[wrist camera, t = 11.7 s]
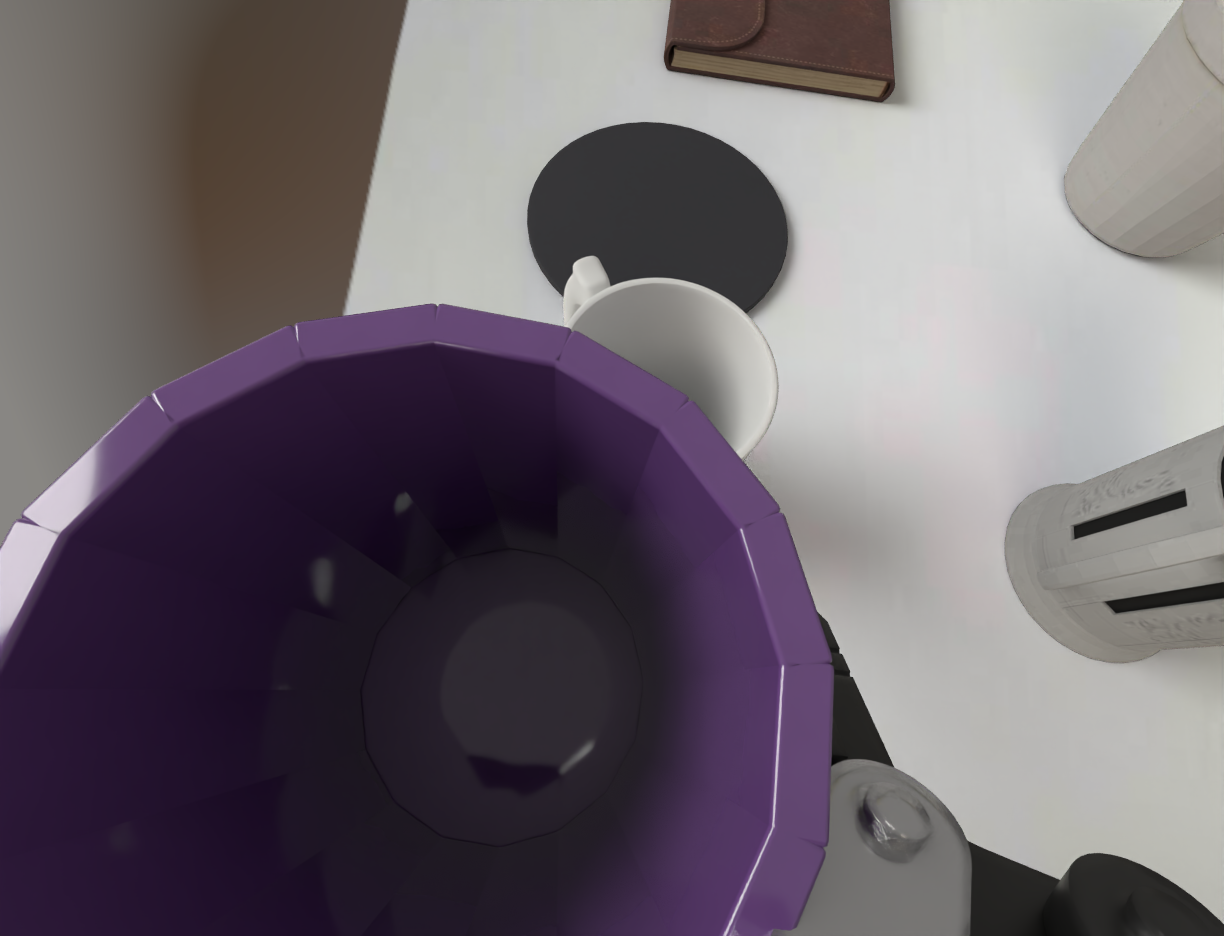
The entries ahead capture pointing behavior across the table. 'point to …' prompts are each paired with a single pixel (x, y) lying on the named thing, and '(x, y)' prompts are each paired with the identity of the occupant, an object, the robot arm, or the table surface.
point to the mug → (682, 344)
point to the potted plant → (1160, 145)
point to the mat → (659, 211)
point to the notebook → (786, 44)
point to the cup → (410, 654)
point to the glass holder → (1127, 555)
